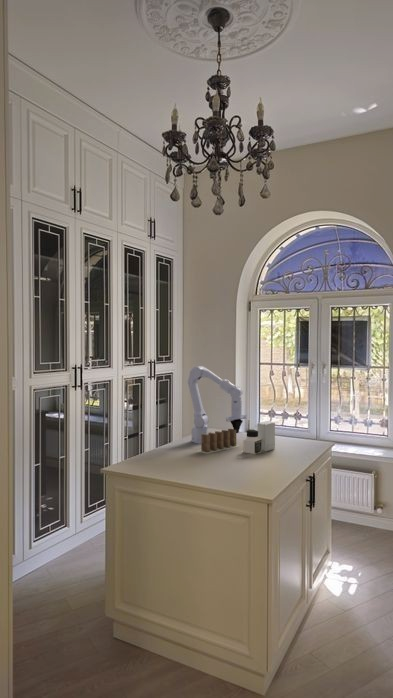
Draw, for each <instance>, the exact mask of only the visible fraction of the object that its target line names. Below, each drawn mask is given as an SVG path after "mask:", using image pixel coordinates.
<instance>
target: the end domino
mask: <svg viewBox="0 0 393 698" xmlns="http://www.w3.org/2000/svg"><path fill="white" fill-rule="evenodd" d="M200 447H201V448H200V450H201V451H204V452H207V453H208V452H210V435H207V434H201V444H200Z"/></svg>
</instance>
